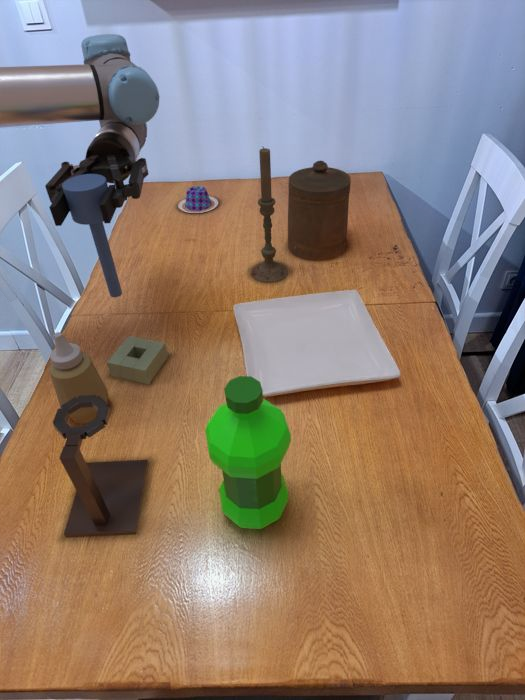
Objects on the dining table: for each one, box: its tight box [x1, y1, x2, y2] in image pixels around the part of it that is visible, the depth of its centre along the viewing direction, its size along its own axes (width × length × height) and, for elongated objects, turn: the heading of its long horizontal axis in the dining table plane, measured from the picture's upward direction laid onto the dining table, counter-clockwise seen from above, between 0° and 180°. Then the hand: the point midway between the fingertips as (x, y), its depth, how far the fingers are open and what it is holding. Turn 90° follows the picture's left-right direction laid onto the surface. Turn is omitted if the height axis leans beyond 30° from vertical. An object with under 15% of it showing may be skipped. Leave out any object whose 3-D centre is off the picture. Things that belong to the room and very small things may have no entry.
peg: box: [62, 174, 123, 298], centre depth 75 cm, size 6×6×19 cm
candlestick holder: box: [250, 146, 289, 284], centre depth 108 cm, size 9×9×30 cm
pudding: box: [177, 185, 219, 214], centre depth 145 cm, size 12×12×5 cm
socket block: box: [106, 335, 169, 385], centre depth 93 cm, size 8×8×4 cm
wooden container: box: [287, 160, 352, 262], centre depth 119 cm, size 15×15×22 cm
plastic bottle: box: [204, 375, 292, 530], centre depth 63 cm, size 10×10×25 cm
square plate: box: [232, 289, 402, 398], centre depth 95 cm, size 27×27×4 cm
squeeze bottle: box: [49, 331, 109, 425], centre depth 80 cm, size 8×8×18 cm
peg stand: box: [52, 395, 150, 538], centre depth 68 cm, size 12×10×17 cm
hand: (80, 215), depth 66 cm, fingers closed on peg, 6 cm apart
